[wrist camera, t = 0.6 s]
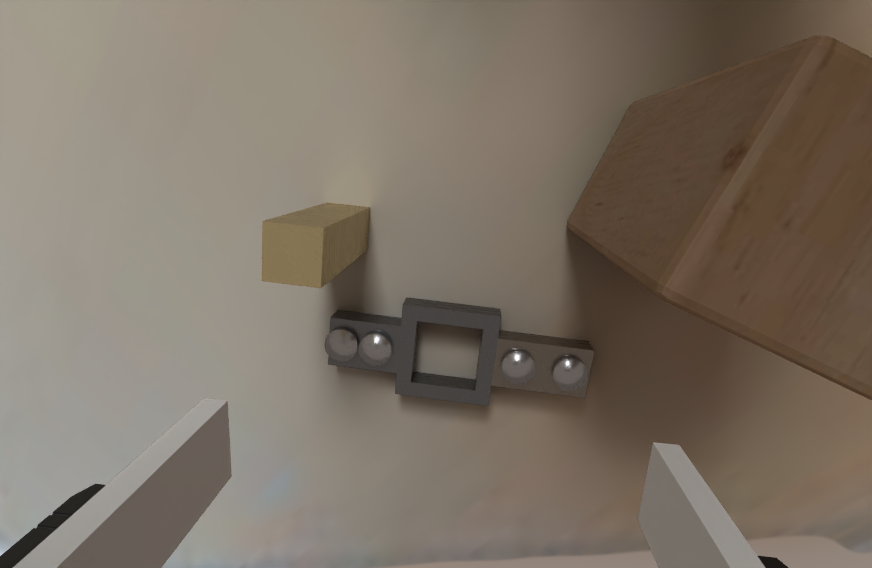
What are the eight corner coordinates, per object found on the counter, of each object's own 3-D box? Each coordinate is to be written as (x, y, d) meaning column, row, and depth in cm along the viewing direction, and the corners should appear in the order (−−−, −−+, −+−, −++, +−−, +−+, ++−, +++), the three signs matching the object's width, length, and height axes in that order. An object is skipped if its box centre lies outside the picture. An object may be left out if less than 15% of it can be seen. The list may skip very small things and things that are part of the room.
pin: (327, 202, 38) (262, 221, 27) (369, 207, 38) (323, 228, 27) (325, 245, 39) (261, 280, 28) (367, 250, 39) (320, 288, 27)
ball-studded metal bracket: (336, 289, 40) (326, 297, 37) (592, 320, 39) (600, 331, 36) (331, 374, 42) (322, 387, 39) (575, 406, 41) (582, 422, 38)
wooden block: (562, 226, 37) (655, 297, 18) (631, 100, 35) (824, 25, 16) (678, 282, 38) (891, 411, 18) (755, 161, 35) (1095, 162, 16)
